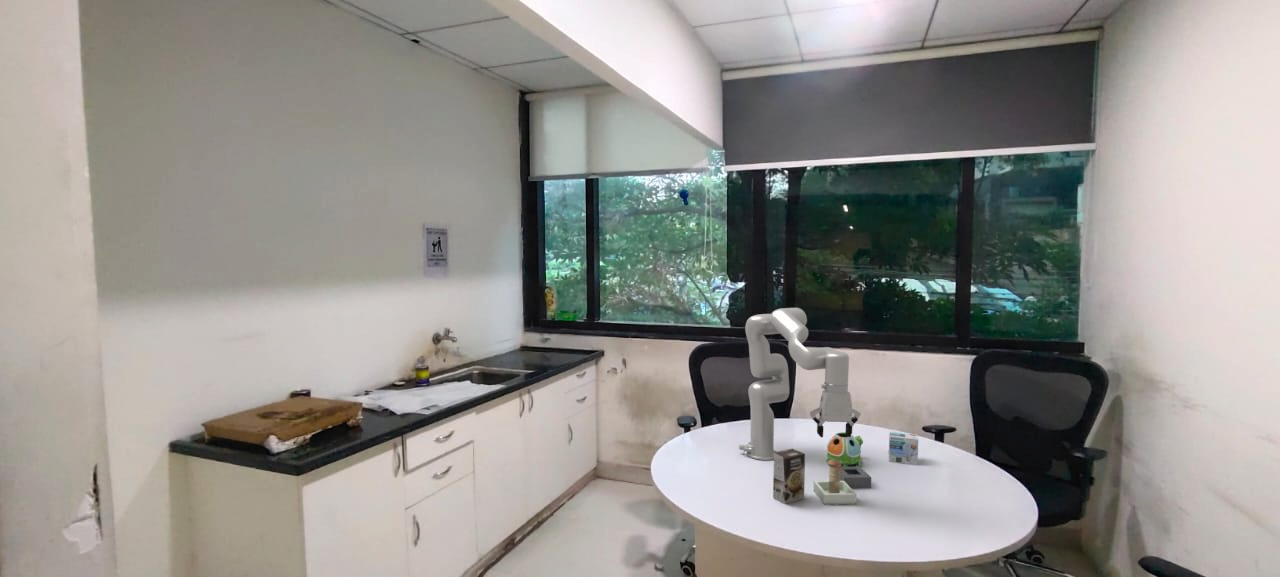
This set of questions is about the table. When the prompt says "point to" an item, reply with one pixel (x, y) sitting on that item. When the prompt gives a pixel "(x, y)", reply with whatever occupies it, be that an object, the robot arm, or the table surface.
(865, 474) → the hitch block
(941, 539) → the table surface
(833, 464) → the pin
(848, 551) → the table surface
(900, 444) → the light bulb box
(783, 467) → the coffee box
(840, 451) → the turtle holder
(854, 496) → the tray
